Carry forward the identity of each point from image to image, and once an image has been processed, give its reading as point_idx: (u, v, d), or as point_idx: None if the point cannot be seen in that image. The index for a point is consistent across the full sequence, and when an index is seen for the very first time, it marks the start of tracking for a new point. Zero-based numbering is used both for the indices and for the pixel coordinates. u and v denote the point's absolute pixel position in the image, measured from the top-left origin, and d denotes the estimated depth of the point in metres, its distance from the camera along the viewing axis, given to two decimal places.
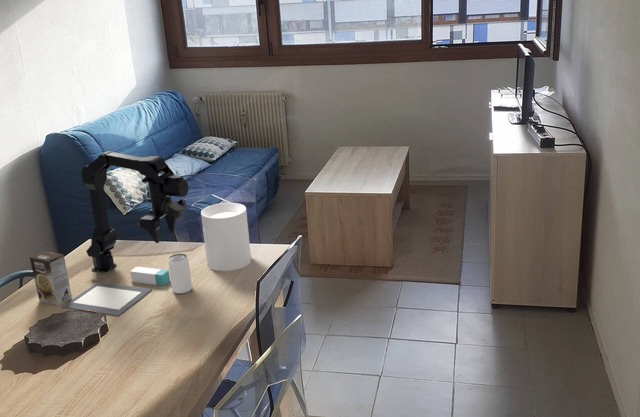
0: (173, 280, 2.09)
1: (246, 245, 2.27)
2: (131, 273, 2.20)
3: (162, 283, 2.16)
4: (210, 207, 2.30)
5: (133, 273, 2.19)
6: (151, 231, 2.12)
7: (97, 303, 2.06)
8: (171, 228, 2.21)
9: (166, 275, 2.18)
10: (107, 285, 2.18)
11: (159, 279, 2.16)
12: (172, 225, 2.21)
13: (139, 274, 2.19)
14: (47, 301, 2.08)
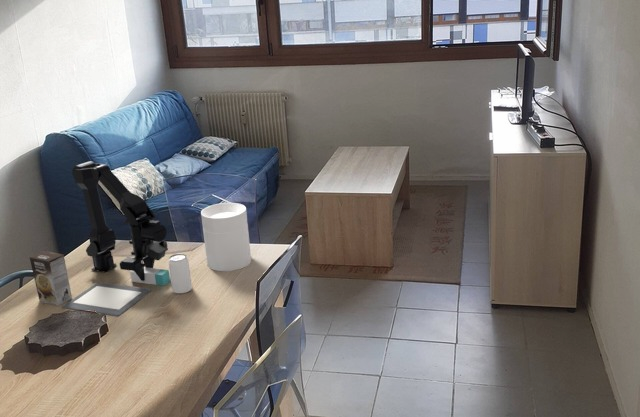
0: (173, 280, 2.09)
1: (246, 245, 2.27)
2: (131, 273, 2.20)
3: (162, 283, 2.16)
4: (210, 207, 2.30)
5: (133, 273, 2.19)
6: (137, 269, 2.16)
7: (97, 303, 2.06)
8: None
9: (166, 275, 2.18)
10: (107, 285, 2.18)
11: (159, 279, 2.16)
12: None
13: None
14: (47, 301, 2.08)
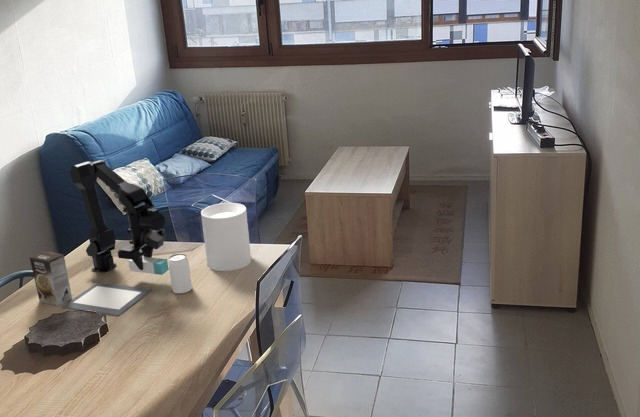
0: (173, 280, 2.09)
1: (246, 245, 2.27)
2: (129, 262, 2.18)
3: (160, 272, 2.15)
4: (210, 207, 2.30)
5: (131, 262, 2.18)
6: (135, 258, 2.15)
7: (97, 303, 2.06)
8: None
9: (165, 264, 2.16)
10: (107, 285, 2.18)
11: (157, 268, 2.15)
12: None
13: None
14: (47, 301, 2.08)
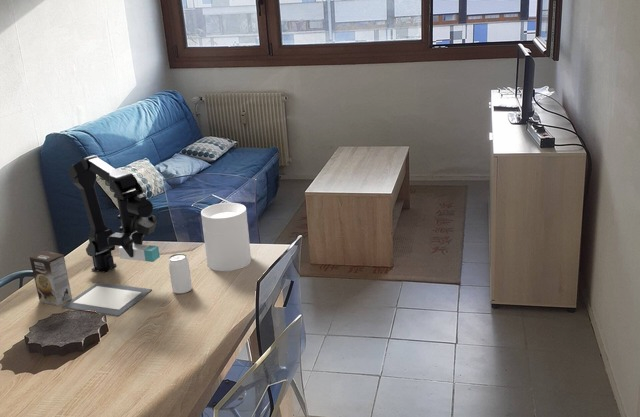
0: (173, 280, 2.09)
1: (246, 245, 2.27)
2: (119, 249, 2.14)
3: (151, 259, 2.11)
4: (210, 207, 2.30)
5: (121, 250, 2.14)
6: (125, 245, 2.11)
7: (97, 303, 2.06)
8: None
9: (156, 251, 2.12)
10: (107, 285, 2.18)
11: (148, 255, 2.11)
12: None
13: None
14: (47, 301, 2.08)
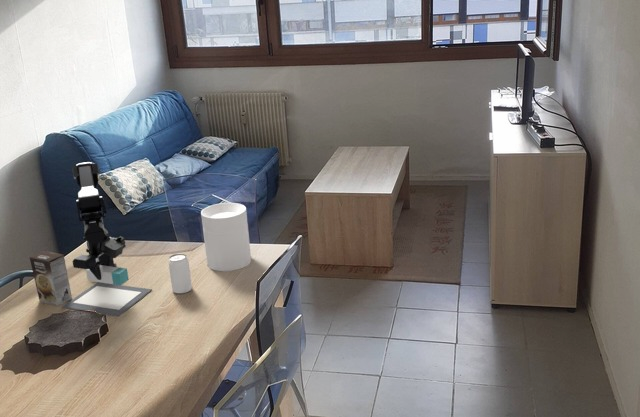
0: (173, 280, 2.09)
1: (246, 245, 2.27)
2: (87, 271, 2.06)
3: (119, 282, 2.03)
4: (210, 207, 2.30)
5: (89, 272, 2.06)
6: (92, 268, 2.03)
7: (97, 303, 2.06)
8: None
9: (124, 274, 2.04)
10: (107, 285, 2.18)
11: (116, 278, 2.02)
12: None
13: None
14: (47, 301, 2.08)
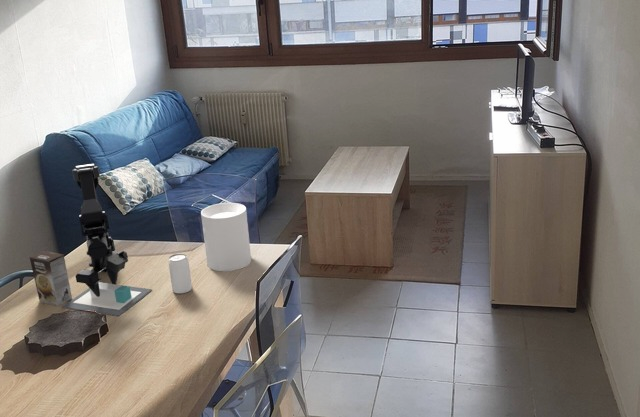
0: (173, 280, 2.09)
1: (246, 245, 2.27)
2: (90, 289, 2.08)
3: (122, 300, 2.05)
4: (210, 207, 2.30)
5: None
6: (91, 285, 2.03)
7: (97, 303, 2.06)
8: (113, 280, 2.11)
9: (127, 292, 2.06)
10: None
11: (119, 296, 2.05)
12: (114, 277, 2.11)
13: None
14: (47, 301, 2.08)
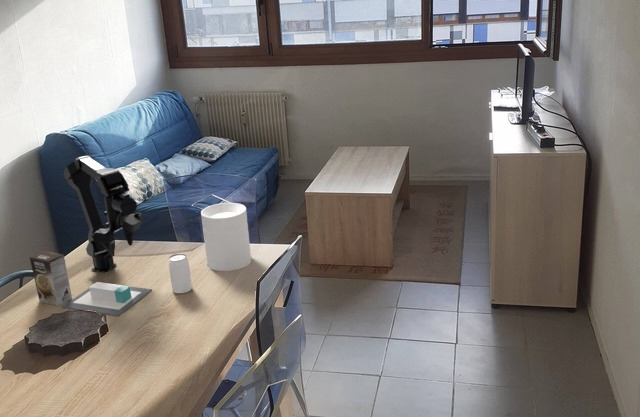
0: (173, 280, 2.09)
1: (246, 245, 2.27)
2: (90, 289, 2.08)
3: (122, 300, 2.05)
4: (210, 207, 2.30)
5: (92, 289, 2.08)
6: (106, 244, 2.11)
7: (97, 303, 2.06)
8: (129, 240, 2.20)
9: (127, 292, 2.06)
10: None
11: (119, 296, 2.05)
12: (130, 238, 2.20)
13: (99, 291, 2.07)
14: (47, 301, 2.08)
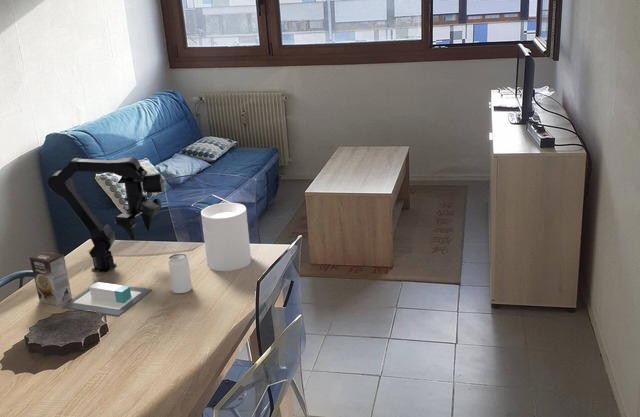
0: (173, 280, 2.09)
1: (246, 245, 2.27)
2: (90, 289, 2.08)
3: (122, 300, 2.05)
4: (210, 207, 2.30)
5: (92, 289, 2.08)
6: (127, 228, 2.23)
7: (97, 303, 2.06)
8: (148, 225, 2.32)
9: (127, 292, 2.06)
10: None
11: (119, 296, 2.05)
12: (148, 223, 2.32)
13: (99, 291, 2.07)
14: (47, 301, 2.08)
